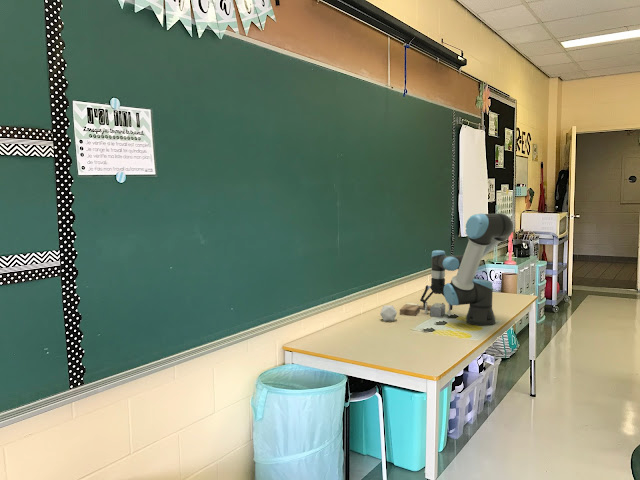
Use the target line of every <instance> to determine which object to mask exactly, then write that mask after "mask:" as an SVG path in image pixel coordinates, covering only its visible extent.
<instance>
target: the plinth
mask: <svg viewBox="0 0 640 480" xmlns="http://www.w3.org/2000/svg"><path fill="white" fill-rule="evenodd" d="M420 312H421V309H420V305H419V306H417V305H406V304H404V305H403V306H402V307H401V308H400V309H399V315H401V316H413V317H416V316H417V315H418V314H419V313H420Z"/></svg>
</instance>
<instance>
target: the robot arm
mask: <svg viewBox="0 0 640 480" xmlns="http://www.w3.org/2000/svg"><path fill="white" fill-rule="evenodd" d="M513 231H514V223H513V220H512V219H511V217H509V216H508V215H507V214H504V213H478V214H473V215H471V216H470V217H469V218H468V219H467V220H466V223H465V234H466V236H467V239H468V242H467V245H466V248H465V250H464V253H463V254H462V255H461V254H460V255H446V251H445V250H440V249H437V250H433V251H432V252H431V258H430V259H431V265H430V266H431V270H430V271H431V273H430V275H431V276H430V277H431V279H430V280H431V284H430V285H428V284H427V285H426V286H425V290H424V291H423V293H422V295H421V298H420V299H419V300H420V302H422V305H423V308H425V310H424V315H427V314H428V310H427V305H428V300H429V299H430V297H431V296H432V295H433V294H435V295H442V296H443V297H444V299H445V302H447V304H448V310H447V311H448V317H450V316H451V311H452V310H453V306H463V305H469V308H468V310H467V314H466V316H465V321H466V323H468V324H471V325H475V326H476V325H477V326H491V325H495V324H496V317H495V312H494V310H493V291H494V289H493V288H494V287H493V283H492V281H490V280H487V279H481V278H475V276H476V274H477V272H478V268H479V267H480V263H481V262H482V261H481V260H482V259H483V258H484V257H485V256H486V255H488V254H489V253H490V252H491V251H492V250H493V249H494V248H495V247H496V246H498V245H499V243H501V242H504V241H507V239H508V238H509V237H510V236H511V235H512V234H513ZM446 271H448V272H449V271H450V272H451V271H452V272H455V271H457V273H456V275H455V276H452V278H451V280H450V282H448V283H446V279H445V278H446V277H445V276H446ZM429 290H431V292H430V293H429V294H428V295H427V296H426V294H427V292H428V291H429ZM424 298H425V299H424Z"/></svg>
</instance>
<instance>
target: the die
mask: <svg viewBox="0 0 640 480" xmlns="http://www.w3.org/2000/svg"><path fill="white" fill-rule="evenodd" d="M397 313H398V312H397V309H395V306H394V305H390V304H389V305H382V308H381V311H380V316H381V318H382V320H383V322H395V319H396V317H397Z"/></svg>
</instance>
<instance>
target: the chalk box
mask: <svg viewBox="0 0 640 480" xmlns="http://www.w3.org/2000/svg"><path fill="white" fill-rule="evenodd" d="M405 305H417V306H420V305H419V304H418V303H412V302H411V303H410V302H406V303H405Z"/></svg>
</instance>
